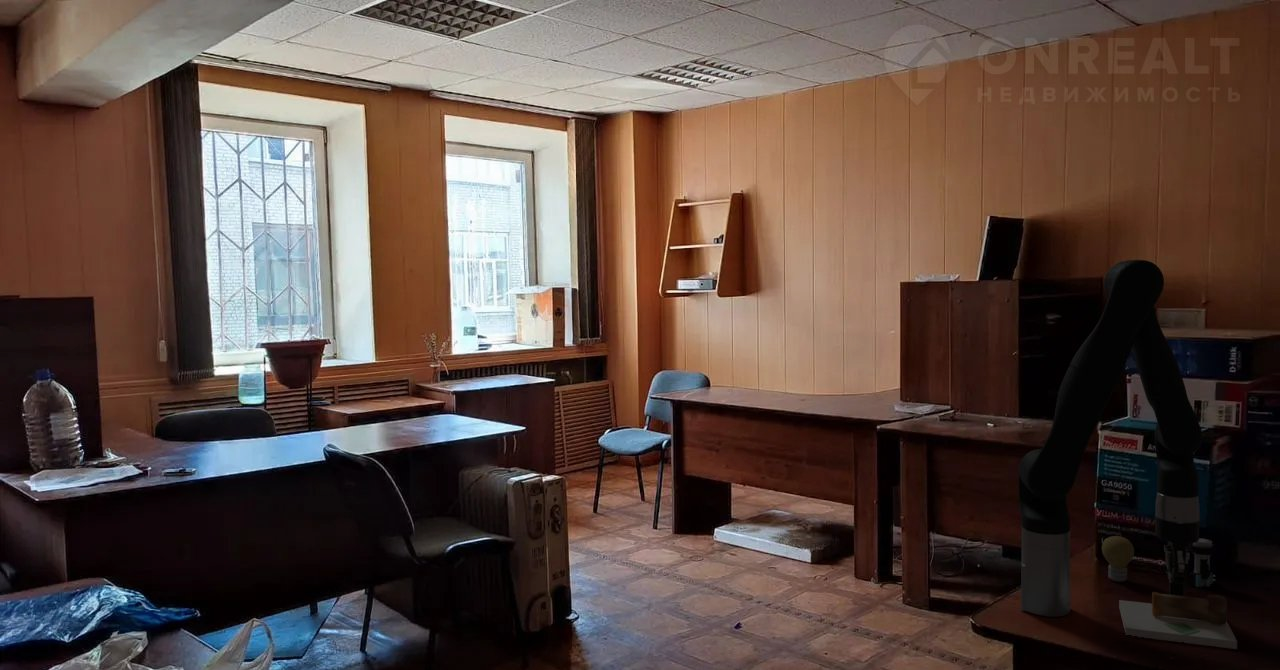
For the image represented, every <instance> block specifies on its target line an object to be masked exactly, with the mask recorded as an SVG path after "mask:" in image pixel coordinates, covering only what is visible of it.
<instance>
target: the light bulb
mask: <svg viewBox="0 0 1280 670" xmlns="http://www.w3.org/2000/svg"><path fill="white" fill-rule="evenodd" d="M1101 551H1102V552H1101V553H1102V555H1103V557H1104V559H1105V560H1106V561H1107V562H1108V563H1109V565H1108V571H1107V572H1108V574H1107V575H1108V576H1107V577H1108V578H1109V579H1110V580H1111V581H1113V582H1118V583H1122V582H1126V581H1127V579H1128V576H1127V575H1128V567H1127V566H1128V564H1130V562H1132V560H1133V558H1134V557H1135V556H1134V555H1135V548H1134V545H1133V543H1132V542H1131V541H1130V540H1129V539H1128V538H1125V537H1123V536H1119V535H1111V536H1109V537H1107V538H1105V539H1104V540H1103V542H1102V544H1101Z"/></svg>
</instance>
